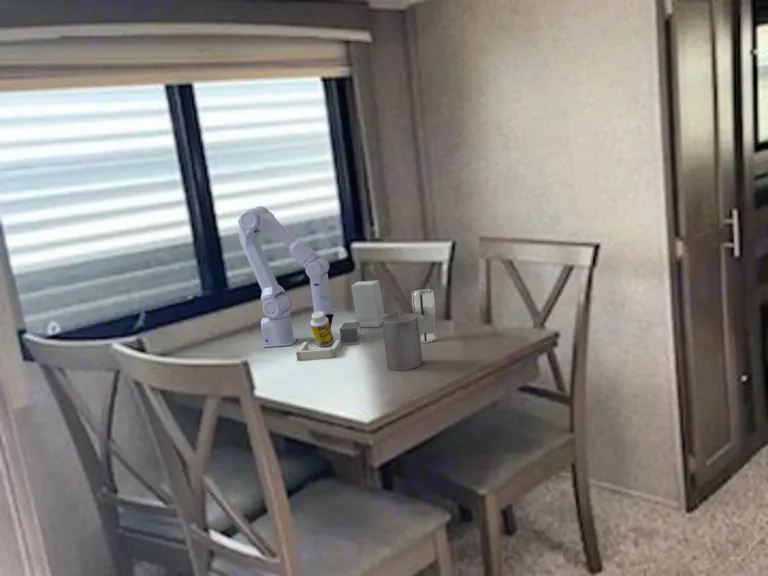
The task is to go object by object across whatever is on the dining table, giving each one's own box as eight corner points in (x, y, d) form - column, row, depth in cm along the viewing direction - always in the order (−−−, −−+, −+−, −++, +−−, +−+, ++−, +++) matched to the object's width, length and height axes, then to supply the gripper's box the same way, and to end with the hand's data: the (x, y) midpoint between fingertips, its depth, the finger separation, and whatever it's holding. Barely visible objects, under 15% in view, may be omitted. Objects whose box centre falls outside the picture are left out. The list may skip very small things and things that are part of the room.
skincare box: (385, 323, 260) (381, 279, 257) (378, 327, 254) (373, 283, 251) (363, 323, 263) (358, 280, 260) (355, 327, 258) (350, 284, 255)
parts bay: (297, 360, 226) (296, 352, 226) (304, 349, 237) (303, 341, 237) (335, 357, 225) (334, 349, 225) (341, 346, 236) (340, 339, 236)
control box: (339, 346, 237) (337, 330, 236) (344, 337, 247) (342, 322, 246) (358, 344, 237) (357, 328, 236) (362, 336, 246) (361, 320, 245)
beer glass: (413, 343, 230) (408, 294, 228) (418, 337, 237) (413, 289, 234) (436, 343, 229) (431, 293, 226) (440, 336, 235) (435, 288, 232)
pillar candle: (394, 359, 216) (388, 308, 213) (427, 360, 213) (421, 307, 210) (382, 371, 208) (375, 317, 205) (416, 371, 204) (409, 316, 201)
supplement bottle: (322, 349, 237) (314, 321, 232) (312, 343, 241) (305, 315, 236) (336, 341, 239) (330, 313, 234) (327, 335, 244) (320, 307, 239)
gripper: (330, 300, 233) (335, 343, 236) (337, 290, 247) (342, 331, 250) (307, 302, 234) (312, 345, 237) (315, 292, 248) (321, 332, 251)
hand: (326, 338), depth 243 cm, fingers closed
